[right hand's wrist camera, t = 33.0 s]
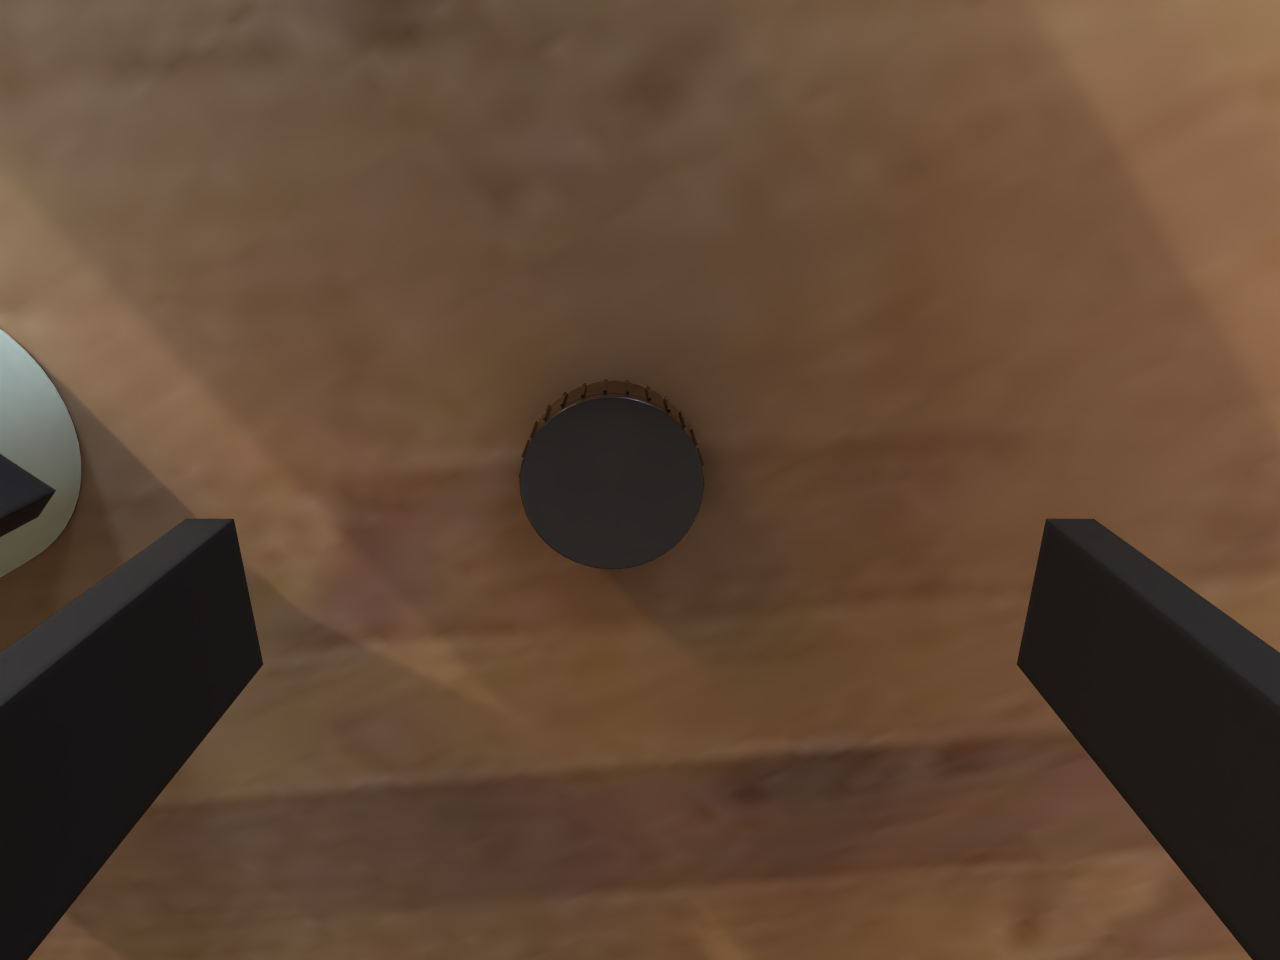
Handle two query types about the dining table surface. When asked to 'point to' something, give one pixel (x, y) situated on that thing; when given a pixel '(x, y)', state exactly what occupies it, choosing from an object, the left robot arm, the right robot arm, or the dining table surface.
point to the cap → (611, 475)
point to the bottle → (36, 450)
